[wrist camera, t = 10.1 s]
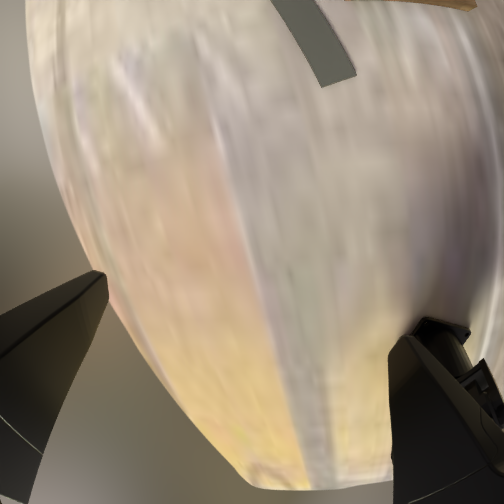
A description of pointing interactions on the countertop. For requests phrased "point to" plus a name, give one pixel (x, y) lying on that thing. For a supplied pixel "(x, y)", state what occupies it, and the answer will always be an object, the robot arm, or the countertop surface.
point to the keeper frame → (446, 3)
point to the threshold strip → (316, 40)
